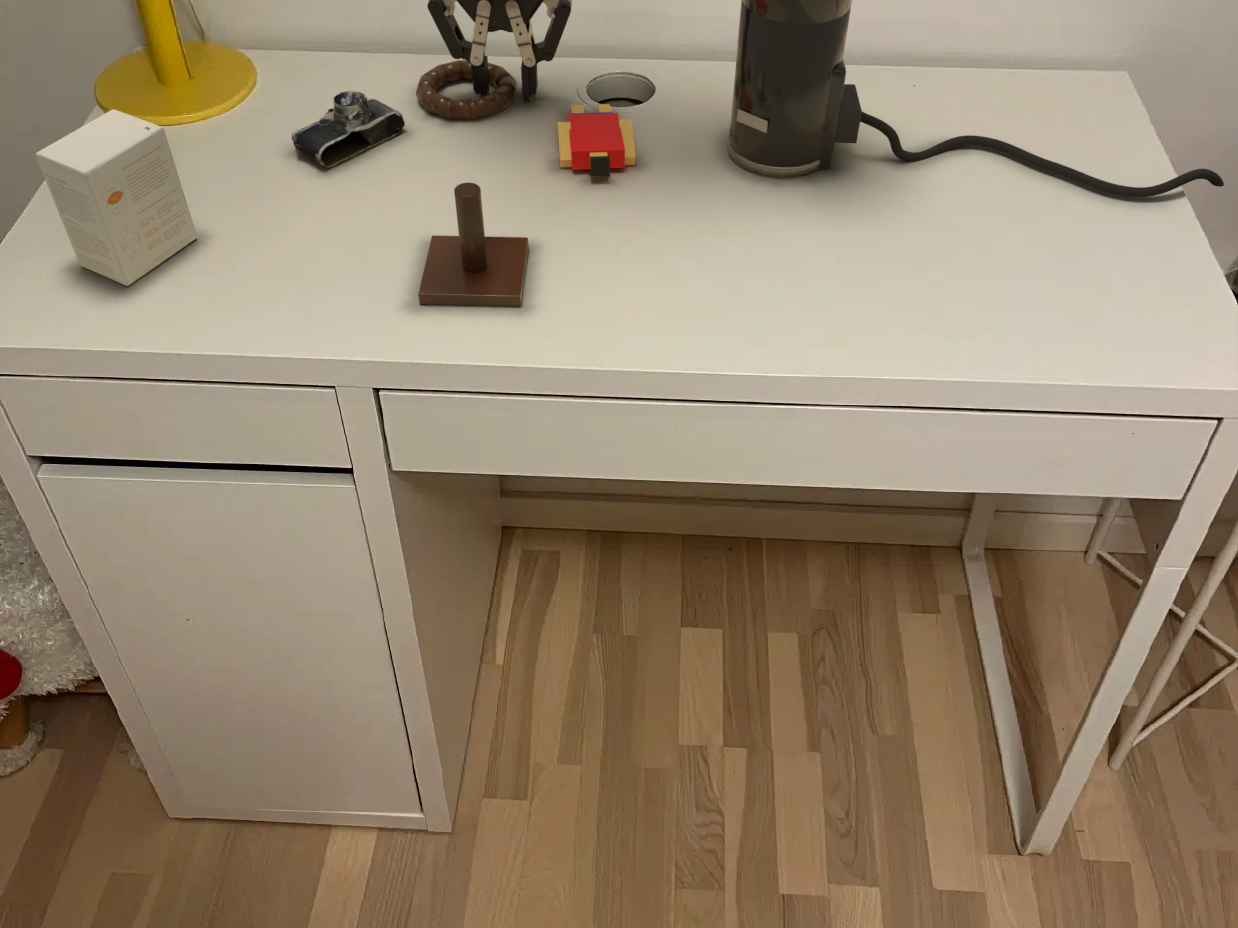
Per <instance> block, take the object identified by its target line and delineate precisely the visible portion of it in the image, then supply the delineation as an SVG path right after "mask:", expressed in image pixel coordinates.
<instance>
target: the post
mask: <svg viewBox="0 0 1238 928" xmlns="http://www.w3.org/2000/svg"><path fill="white" fill-rule="evenodd" d="M453 191H454V193H453V194H454V201H455V202H454V203H455V211H456V221H457V230H458V235H433V234H432V235H431V237H430V238H431V239H430V242H429V247H428V251H427V255H426V259H425V264H424V267H423V272H422V277H421V281H420V284H419V290H418V294H417V295H418V296H417V297H418V302H419V305H449V306H453V305H454V306H490V307H491V306H492V307H493V306H494V307H496V306H498V307H521V306H522V299H523V292H524V285H525V278H526V269H527V261H528V255H529V237H524V236H522V237H521V236H486V235H485V224H484V223H485V222H484V213H483V212H484V211H483V201H482V189H481V187H480V185H479V184H477V183H475V182H462V183H459V184H457V185H456V186H455V187H454V190H453Z"/></svg>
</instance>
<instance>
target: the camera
mask: <svg viewBox="0 0 1238 928" xmlns="http://www.w3.org/2000/svg"><path fill="white" fill-rule="evenodd" d="M332 102H333V108H329V109H328V110H327V111H325V113H324V115H323V116H322V117H320V118H319V119H318V120H317V121H314V122H313V123H311V124H309V125H307V126H304V127H302V128H300V129H299V128H297V129H295V130H294V131H293V132H292V133H291V136H290V137H291V141H292V142H293V146H294V149H295V150H296V151H299V152H300V153H302V154H303V155H305V156H306V157H309V158H310V159H311V160H313V161H315V162H317V163H319V164H320V165H321V166H323V167H324V168H334V167H336V166H338V165H339V164H341V163H343V162H345V161H347V160H349V159H351V158H353V157H356V156H358V155H360V154H361V153H363V152H365V151H366V150H368V149H370V148H372V147H375V146H377V145H379V144H381V143H384V142H385V141H387V140H389V139H391V138H393V137H395V136H397V135H398V134H400V133H402V131H403V129H404V127H405V125H406V122H405V119H404V117H403V114H402V113H401V112H400V111H399V110H396V109H394V108H393V107H391V106H388V105H387V104H385V103H383V102H381V101H379V100H378V99H375V98H373V97H368V98H367V95H366V94H365V93H363V92H361V91H357V90H347V91H341V92H339V93H337V94H336V95H334V96H333V100H332Z"/></svg>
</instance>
